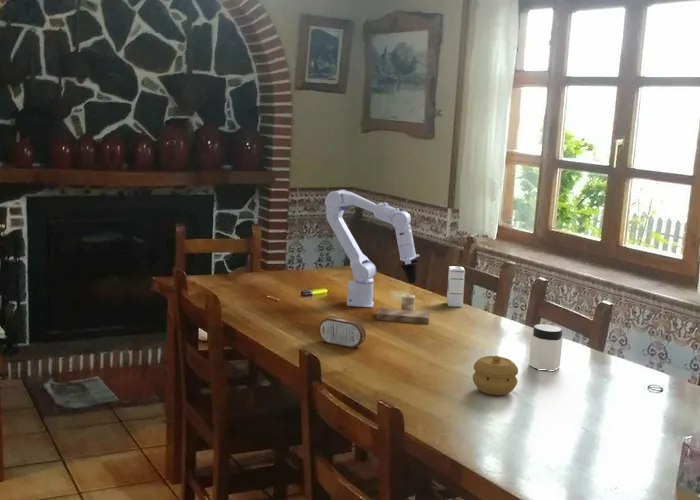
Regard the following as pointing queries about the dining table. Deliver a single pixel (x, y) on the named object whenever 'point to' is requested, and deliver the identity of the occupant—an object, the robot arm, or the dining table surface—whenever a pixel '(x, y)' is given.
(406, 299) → the oak block
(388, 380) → the dining table surface
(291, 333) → the dining table surface
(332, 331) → the tin
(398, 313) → the walnut slab
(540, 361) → the jar
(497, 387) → the pot
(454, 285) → the syrup box
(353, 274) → the robot arm
